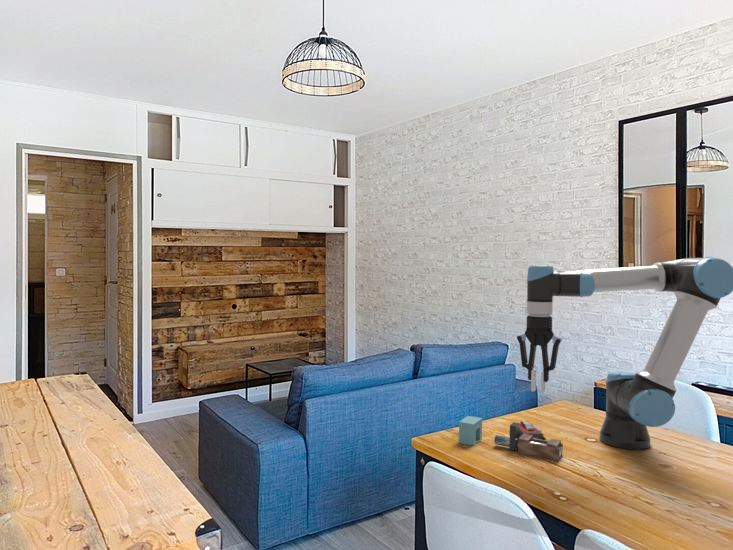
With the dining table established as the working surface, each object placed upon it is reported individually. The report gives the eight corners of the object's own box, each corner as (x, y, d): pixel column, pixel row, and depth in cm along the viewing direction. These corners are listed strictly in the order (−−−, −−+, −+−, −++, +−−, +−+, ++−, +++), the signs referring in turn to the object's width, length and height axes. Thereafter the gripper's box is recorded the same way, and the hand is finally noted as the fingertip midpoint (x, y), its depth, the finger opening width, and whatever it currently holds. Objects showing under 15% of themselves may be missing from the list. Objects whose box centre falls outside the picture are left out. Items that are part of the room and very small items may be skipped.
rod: (561, 454, 162) (562, 430, 162) (559, 458, 159) (559, 433, 159) (497, 442, 173) (498, 419, 173) (493, 446, 169) (494, 422, 169)
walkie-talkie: (551, 443, 175) (528, 425, 195) (552, 430, 175) (529, 413, 195) (525, 444, 174) (505, 425, 194) (526, 430, 174) (505, 413, 194)
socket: (481, 438, 178) (482, 418, 177) (473, 445, 171) (473, 424, 171) (467, 436, 180) (467, 415, 180) (458, 443, 173) (459, 421, 173)
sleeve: (562, 455, 163) (562, 440, 163) (558, 461, 158) (558, 445, 158) (523, 448, 169) (523, 433, 169) (518, 453, 164) (518, 438, 164)
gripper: (567, 315, 162) (566, 392, 163) (517, 312, 170) (516, 385, 171) (562, 317, 156) (561, 397, 157) (511, 314, 164) (510, 390, 165)
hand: (538, 391), depth 164 cm, fingers open, 2 cm apart
